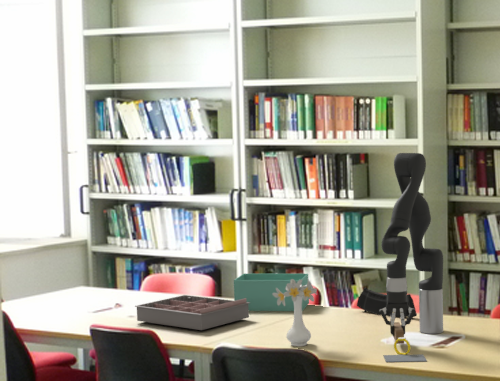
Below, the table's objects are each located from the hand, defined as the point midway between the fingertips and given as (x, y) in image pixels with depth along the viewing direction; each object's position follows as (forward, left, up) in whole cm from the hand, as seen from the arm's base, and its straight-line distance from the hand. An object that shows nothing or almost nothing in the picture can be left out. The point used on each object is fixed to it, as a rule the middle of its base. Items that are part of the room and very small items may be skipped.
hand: (397, 335), depth 323 cm
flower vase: (-5, -37, -4) cm, 38 cm away
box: (-86, -49, -5) cm, 99 cm away
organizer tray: (-54, -83, -5) cm, 99 cm away
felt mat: (+19, 0, -4) cm, 19 cm away
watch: (+12, 0, -4) cm, 13 cm away
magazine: (-60, +2, -4) cm, 60 cm away
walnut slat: (0, 0, -1) cm, 1 cm away
